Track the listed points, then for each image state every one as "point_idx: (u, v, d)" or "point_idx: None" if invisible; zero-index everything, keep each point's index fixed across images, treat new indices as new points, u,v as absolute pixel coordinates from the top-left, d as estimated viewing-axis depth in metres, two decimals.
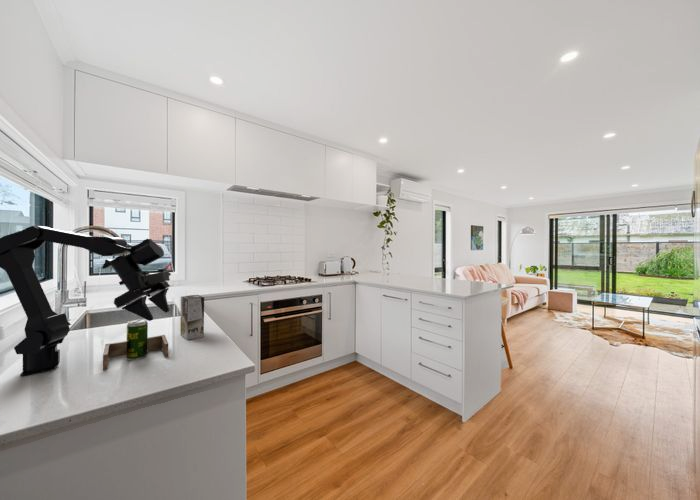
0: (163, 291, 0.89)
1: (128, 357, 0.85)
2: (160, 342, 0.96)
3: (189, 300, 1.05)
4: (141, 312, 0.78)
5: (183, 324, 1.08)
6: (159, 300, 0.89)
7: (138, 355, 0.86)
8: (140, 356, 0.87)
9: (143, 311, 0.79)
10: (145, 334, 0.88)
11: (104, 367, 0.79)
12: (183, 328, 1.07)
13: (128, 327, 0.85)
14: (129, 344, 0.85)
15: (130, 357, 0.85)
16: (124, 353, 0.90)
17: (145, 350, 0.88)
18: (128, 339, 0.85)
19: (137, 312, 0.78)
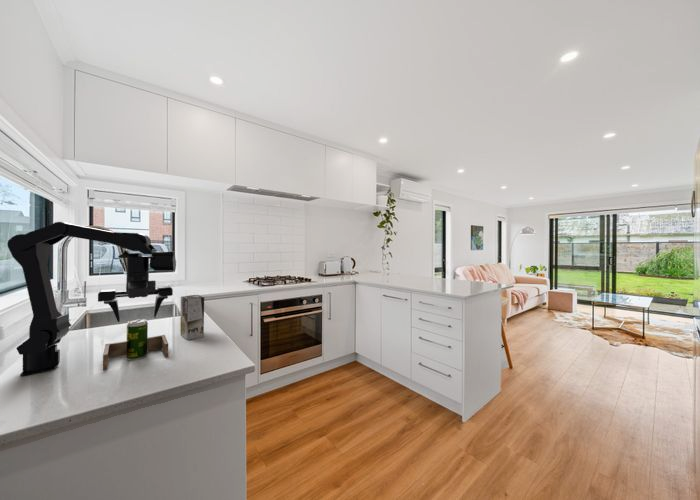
0: (157, 299, 0.89)
1: (128, 357, 0.85)
2: (160, 342, 0.96)
3: (189, 300, 1.05)
4: None
5: (183, 324, 1.08)
6: (155, 303, 0.91)
7: (138, 355, 0.86)
8: (140, 356, 0.87)
9: (114, 311, 0.84)
10: (145, 334, 0.88)
11: (104, 367, 0.79)
12: (183, 328, 1.07)
13: (128, 327, 0.85)
14: (129, 344, 0.85)
15: (130, 357, 0.85)
16: (124, 353, 0.90)
17: (145, 350, 0.88)
18: (128, 339, 0.85)
19: None
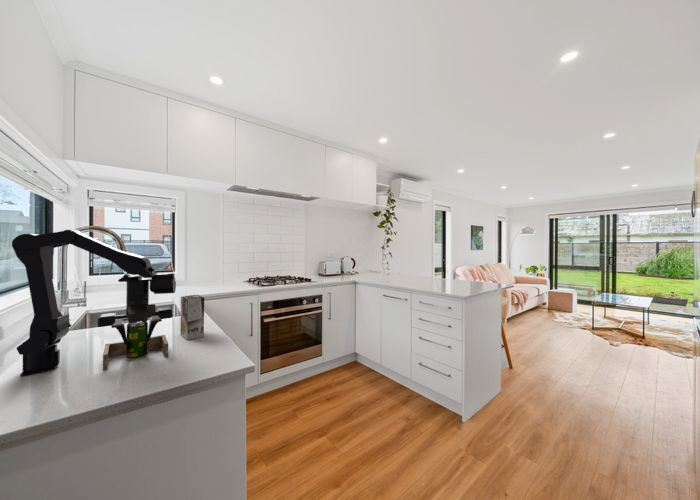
0: (150, 322, 0.88)
1: (128, 357, 0.85)
2: (160, 342, 0.96)
3: (189, 300, 1.05)
4: (121, 334, 0.86)
5: (183, 324, 1.08)
6: (149, 326, 0.90)
7: (138, 355, 0.86)
8: (140, 356, 0.87)
9: (121, 334, 0.85)
10: (145, 334, 0.88)
11: (104, 367, 0.79)
12: (183, 328, 1.07)
13: (128, 327, 0.85)
14: (129, 344, 0.85)
15: (130, 357, 0.85)
16: (124, 353, 0.90)
17: (145, 350, 0.88)
18: (128, 338, 0.85)
19: None
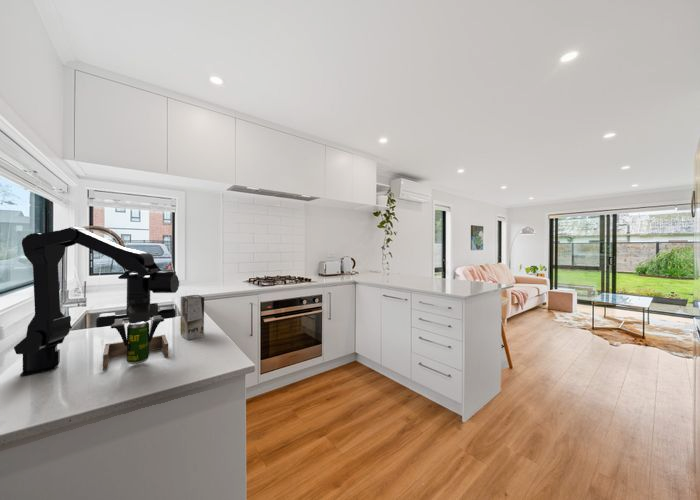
0: (152, 322, 0.83)
1: (128, 360, 0.80)
2: (160, 342, 0.96)
3: (189, 300, 1.05)
4: (121, 335, 0.80)
5: (183, 324, 1.08)
6: (150, 327, 0.85)
7: (139, 358, 0.81)
8: (141, 359, 0.81)
9: (121, 335, 0.80)
10: (146, 336, 0.83)
11: (104, 367, 0.79)
12: (183, 328, 1.07)
13: (128, 328, 0.80)
14: (130, 346, 0.80)
15: (131, 360, 0.80)
16: (124, 353, 0.90)
17: (146, 353, 0.83)
18: (129, 341, 0.80)
19: None
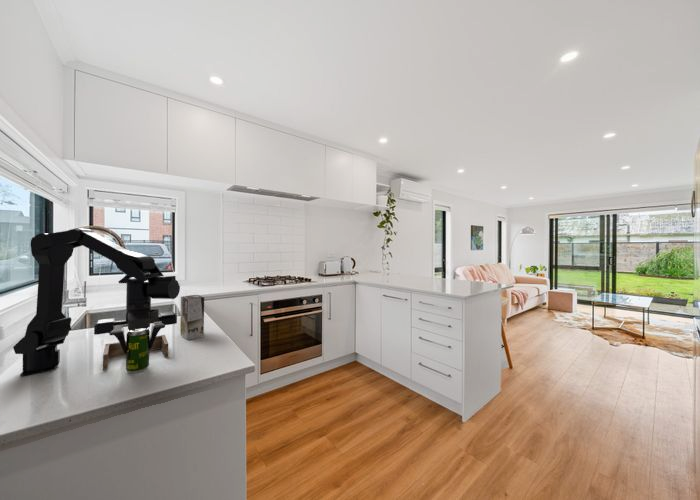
0: (153, 328, 0.80)
1: (128, 369, 0.77)
2: (160, 342, 0.96)
3: (189, 300, 1.05)
4: (120, 342, 0.77)
5: (183, 324, 1.08)
6: (151, 333, 0.82)
7: (139, 367, 0.78)
8: (141, 368, 0.78)
9: None
10: (147, 344, 0.79)
11: (104, 367, 0.79)
12: (183, 328, 1.07)
13: (128, 336, 0.77)
14: (129, 355, 0.77)
15: (130, 369, 0.77)
16: None
17: (146, 362, 0.79)
18: (128, 349, 0.77)
19: None
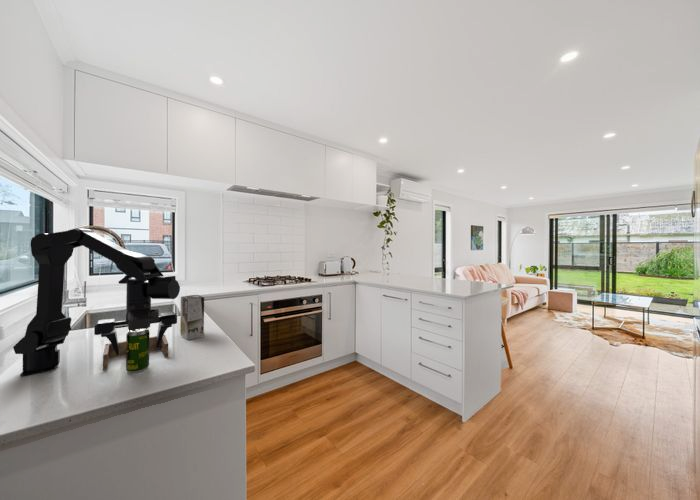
0: (160, 328, 0.81)
1: (128, 369, 0.77)
2: (160, 342, 0.96)
3: (189, 300, 1.05)
4: None
5: (183, 324, 1.08)
6: (158, 332, 0.83)
7: (139, 367, 0.78)
8: (141, 368, 0.78)
9: None
10: (147, 344, 0.79)
11: (104, 367, 0.79)
12: (183, 328, 1.07)
13: (128, 336, 0.77)
14: (129, 355, 0.77)
15: (130, 369, 0.77)
16: (124, 353, 0.90)
17: (146, 362, 0.79)
18: (128, 349, 0.77)
19: None
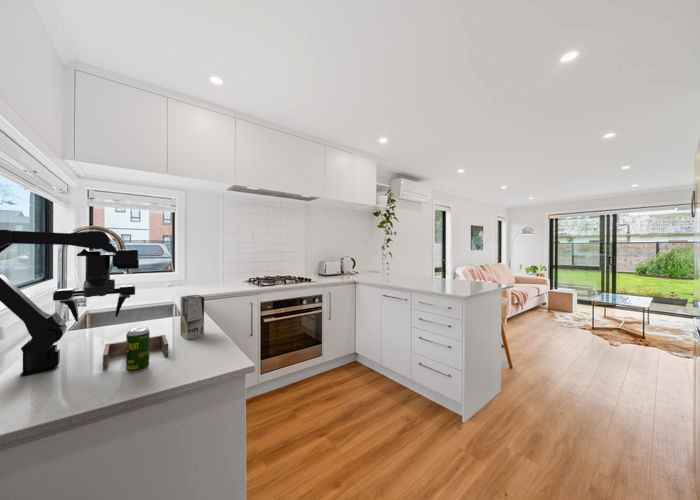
0: (118, 298, 0.87)
1: (128, 369, 0.77)
2: (160, 342, 0.96)
3: (189, 300, 1.05)
4: None
5: (183, 324, 1.08)
6: None
7: (139, 367, 0.78)
8: (141, 368, 0.78)
9: None
10: (147, 344, 0.79)
11: (104, 367, 0.79)
12: (183, 328, 1.07)
13: (128, 336, 0.77)
14: (129, 355, 0.77)
15: (130, 369, 0.77)
16: (124, 353, 0.90)
17: (146, 362, 0.79)
18: (128, 349, 0.77)
19: None
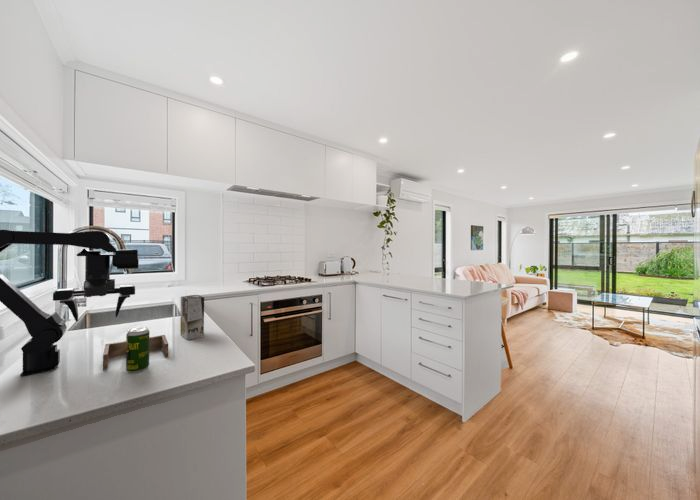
0: (118, 298, 0.88)
1: (128, 369, 0.77)
2: (160, 342, 0.96)
3: (189, 300, 1.05)
4: None
5: (183, 324, 1.08)
6: (117, 302, 0.89)
7: (139, 367, 0.78)
8: (141, 368, 0.78)
9: None
10: (147, 344, 0.79)
11: (104, 367, 0.79)
12: (183, 328, 1.07)
13: (128, 336, 0.77)
14: (129, 355, 0.77)
15: (130, 369, 0.77)
16: (124, 353, 0.90)
17: (146, 362, 0.79)
18: (128, 349, 0.77)
19: None
